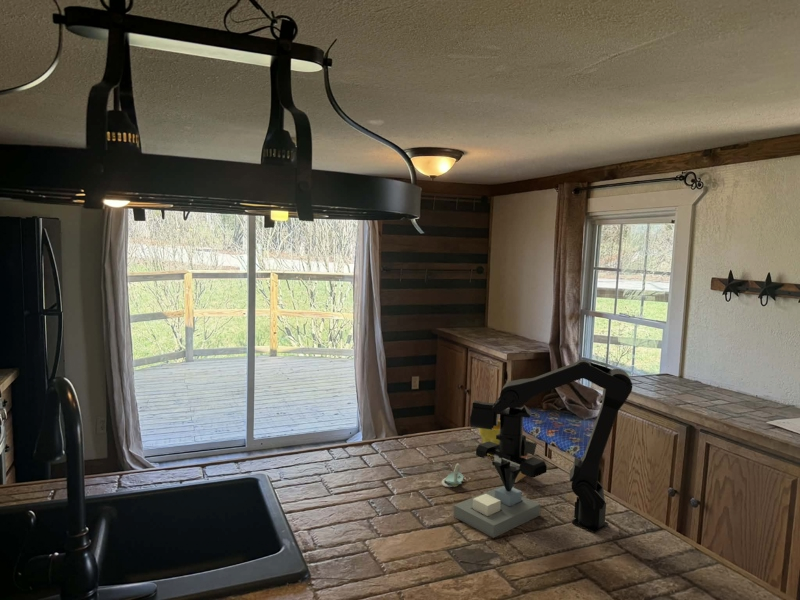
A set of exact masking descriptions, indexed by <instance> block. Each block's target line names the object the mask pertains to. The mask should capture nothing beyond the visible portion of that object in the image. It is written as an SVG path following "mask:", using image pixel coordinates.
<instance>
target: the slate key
mask: <svg viewBox="0 0 800 600" xmlns="http://www.w3.org/2000/svg"><path fill="white" fill-rule="evenodd" d="M500 487H501V488H498V487H497V488H498V489H496V490H495V498H496V499H498V500H501V503H503V504H505V505H507V506H512V505H514V504H516V503H518V502H521V499H522V496H523V495H522V493H523V491H522V490H520V489H517V488H515V487H514V486H513V487H512V489H511V491H507V490H506V489H505V487H504V485H502V486H500Z"/></svg>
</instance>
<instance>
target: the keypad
mask: <svg viewBox="0 0 800 600" xmlns="http://www.w3.org/2000/svg"><path fill="white" fill-rule="evenodd" d="M501 487H502V486H498V487H495V488H493V489H490V490H489V491H485V492H483V493H480V494H478V495H475V496H473V497H471V498H468V499H465V500H463V501H461V502H459V503H456V504H454V505H453V517H454V518H455V519H457V520H460V521H461V522H463V523H464V524H466V525H468V526H470V527H472V528H475V529H476V530H478V531H480V532H482V533H483V534H486V535H487V536H488V537H491V538H492V539H493V538H497V537H498V536H500V535H503V534H505V533H507V532H509V531H511V530H512V529H515V528H516V527H519V526H521V525H523V524H525V523H527V522H529V521H531V520H534V519H535V518H537V517H540V515H541V503H539V502H537V501H534V500H532V499H529V498H528V497H526V496H523V495H522V499H521V502H518V503H516V504H514V505H512V506H507V505H505V504H503V503H500V511H498V512H496V513H494V514H491V515H489V516H486V515H484V514H482V513H480V512H478V511H476V510H474V509H473V499H474V498H476V497H479V496H481V495H484V494H488V495H490V496H492V497H494V498H495V490H496V489H498V488H501Z"/></svg>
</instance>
